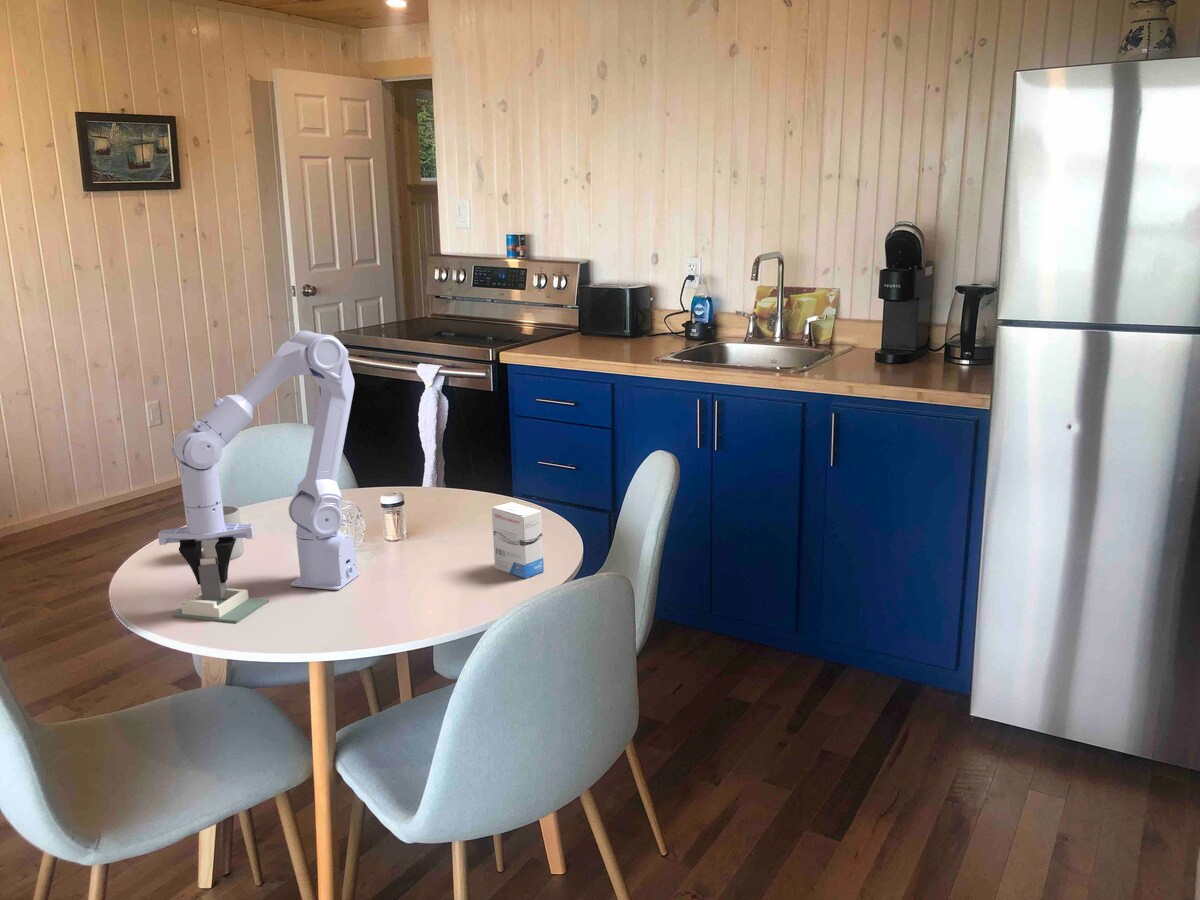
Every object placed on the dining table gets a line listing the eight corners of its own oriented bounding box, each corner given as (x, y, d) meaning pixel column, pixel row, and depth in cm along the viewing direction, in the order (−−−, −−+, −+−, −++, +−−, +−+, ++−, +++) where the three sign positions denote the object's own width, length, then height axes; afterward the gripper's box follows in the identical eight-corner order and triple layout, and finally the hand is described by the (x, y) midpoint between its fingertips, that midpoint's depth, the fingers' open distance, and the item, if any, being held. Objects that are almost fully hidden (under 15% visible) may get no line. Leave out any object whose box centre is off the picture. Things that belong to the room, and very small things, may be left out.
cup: (230, 563, 183) (225, 518, 181) (183, 560, 185) (177, 515, 183) (251, 550, 190) (246, 506, 187) (205, 547, 192) (200, 504, 189)
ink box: (545, 571, 175) (543, 509, 172) (525, 579, 172) (522, 516, 169) (513, 561, 181) (511, 500, 178) (493, 568, 177) (490, 506, 174)
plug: (226, 590, 163) (221, 550, 162) (221, 599, 159) (216, 559, 158) (207, 591, 163) (203, 552, 161) (202, 600, 159) (197, 560, 157)
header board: (268, 601, 164) (267, 585, 163) (236, 623, 156) (234, 606, 155) (207, 595, 167) (205, 580, 166) (172, 616, 159) (170, 600, 158)
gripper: (254, 493, 162) (262, 569, 165) (162, 498, 160) (173, 576, 163) (246, 505, 155) (255, 584, 159) (150, 511, 153) (161, 591, 156)
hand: (212, 581), depth 160 cm, fingers closed on plug, 3 cm apart
